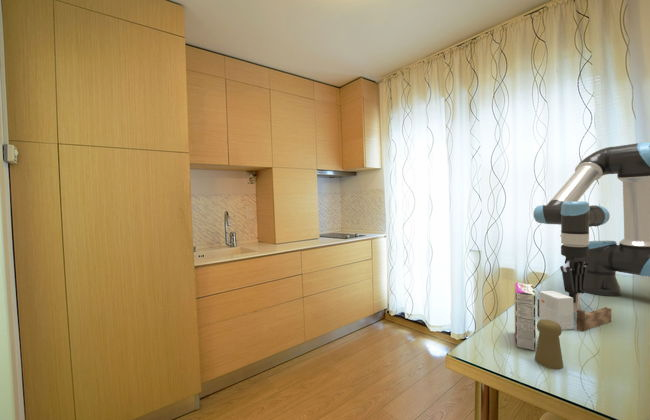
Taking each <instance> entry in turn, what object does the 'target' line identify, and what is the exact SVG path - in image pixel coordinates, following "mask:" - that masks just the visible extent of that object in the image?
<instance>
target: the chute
mask: <svg viewBox="0 0 650 420" xmlns="http://www.w3.org/2000/svg"><path fill="white" fill-rule="evenodd" d="M536 305H537V310H536V311H537V314H536V315H537V316H538V318H539V298H537V304H536ZM608 323H612V308H609V307H607V306H606V307H602V308H600V309H596V310H592V311H590V312H586V311H585V310H582V309H580V310H577V312H576V331H578V332H584V331H588V330H591V329H593V328H596V327H597V328H598V327H599V326H603V325H605V324H608Z"/></svg>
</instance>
